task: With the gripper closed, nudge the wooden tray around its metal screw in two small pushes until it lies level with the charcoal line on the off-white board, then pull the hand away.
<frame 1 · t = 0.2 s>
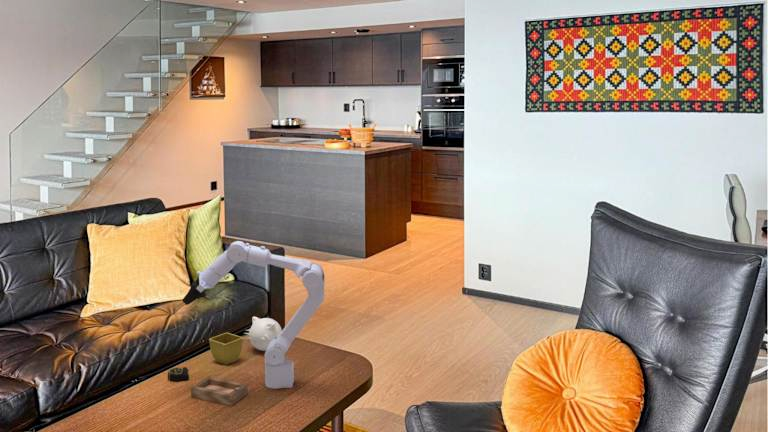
hand: (187, 298, 216), 31 cm above the table, fingers open, 7 cm apart
tape measure: (180, 380, 228), on the table
cat head: (266, 350, 255), on the table
wooden tray: (219, 389, 214), point 3 cm above the table, hinge at -25.0°
flower pot: (226, 362, 243), on the table
wall board: (218, 399, 214), on the table
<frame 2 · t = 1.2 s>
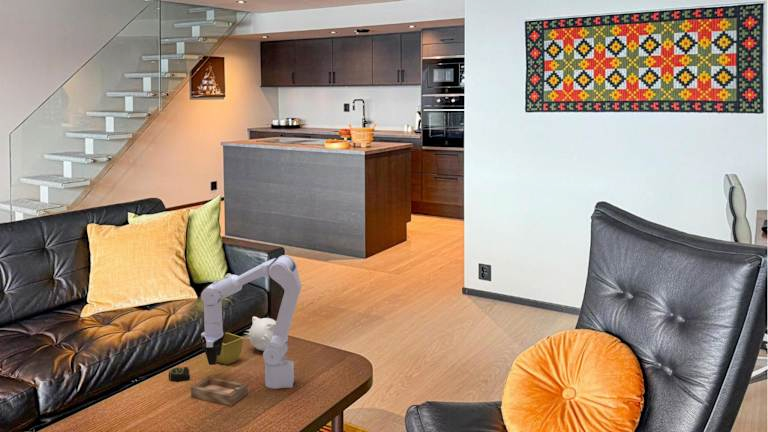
hand: (214, 359, 224), 8 cm above the table, fingers open, 7 cm apart
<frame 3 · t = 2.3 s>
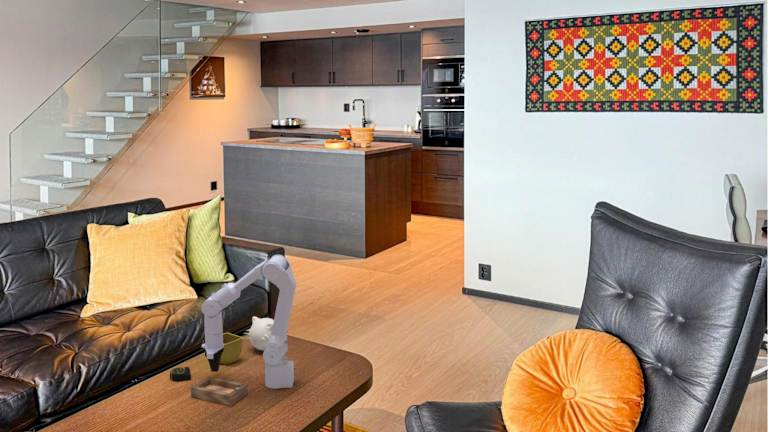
hand: (215, 370, 225), 4 cm above the table, fingers closed
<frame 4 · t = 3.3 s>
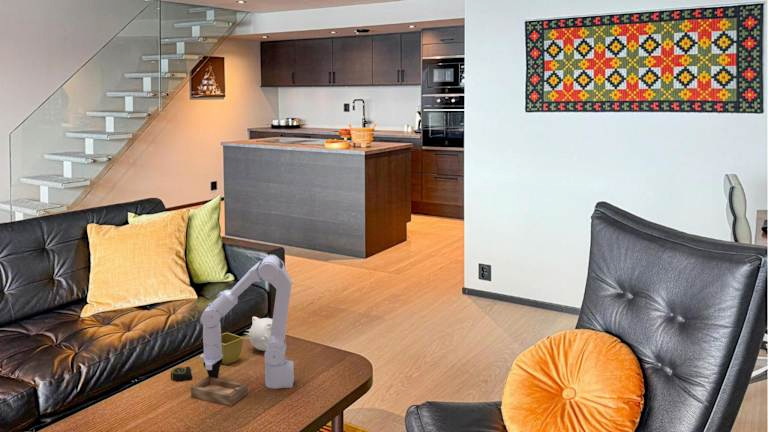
hand: (213, 381, 222), 2 cm above the table, fingers closed
wooden tray: (219, 389, 214), point 3 cm above the table, hinge at -25.0°, touching gripper
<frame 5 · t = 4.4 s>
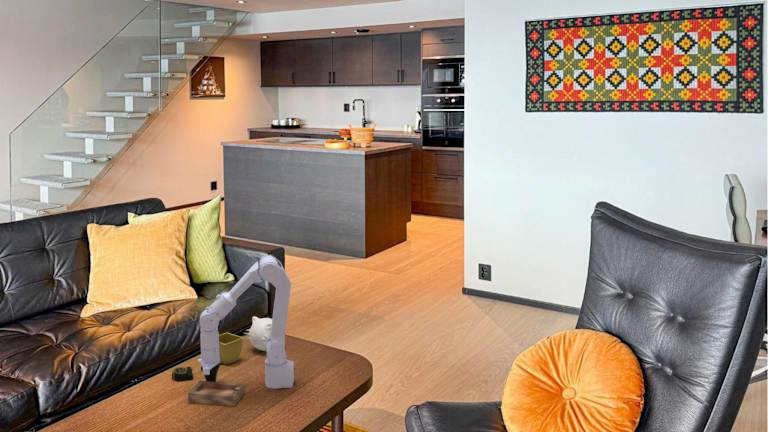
hand: (211, 386, 219), 2 cm above the table, fingers closed
wooden tray: (216, 392, 212), point 3 cm above the table, hinge at -10.3°, touching gripper
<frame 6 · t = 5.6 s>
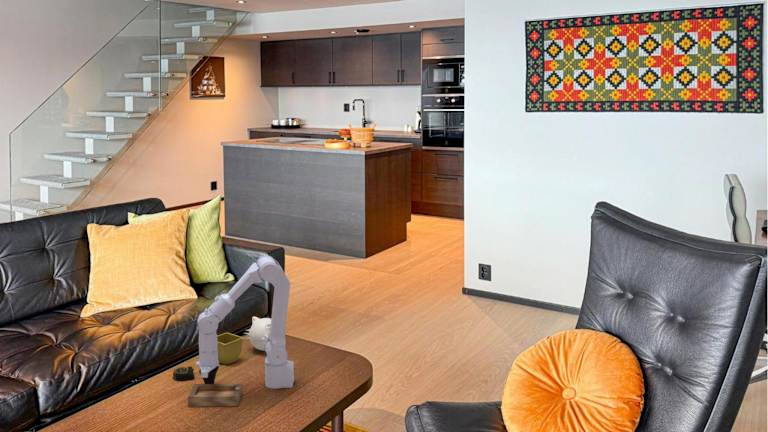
hand: (209, 389, 217), 2 cm above the table, fingers closed
wooden tray: (215, 393, 211), point 3 cm above the table, hinge at 0.0°, touching gripper
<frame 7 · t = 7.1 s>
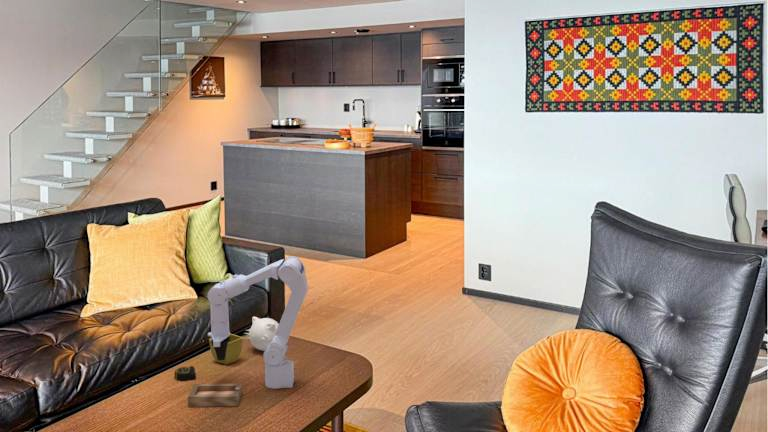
hand: (221, 359, 223), 9 cm above the table, fingers closed
wooden tray: (215, 393, 211), point 3 cm above the table, hinge at 0.2°
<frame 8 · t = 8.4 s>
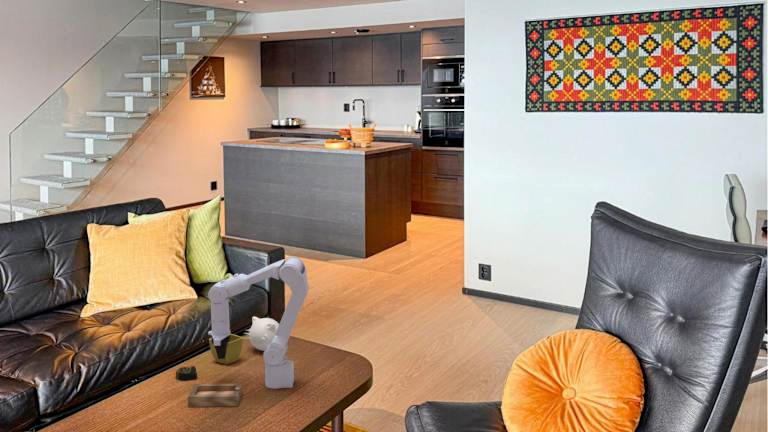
hand: (221, 358, 223), 9 cm above the table, fingers closed
at the end: wooden tray at +0° (first picture: -25°) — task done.
